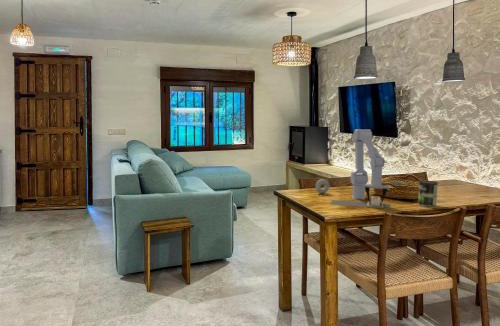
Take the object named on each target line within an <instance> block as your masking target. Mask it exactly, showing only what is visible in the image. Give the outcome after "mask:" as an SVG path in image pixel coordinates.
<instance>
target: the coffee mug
mask: <svg viewBox="0 0 500 326" xmlns="http://www.w3.org/2000/svg"><path fill="white" fill-rule="evenodd" d="M388 183H390V184H395V185H405V186H406V183H405V182H402V181H396V180H395V181H393V180H391V181H388Z"/></svg>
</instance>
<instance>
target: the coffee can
mask: <svg viewBox="0 0 500 326" xmlns="http://www.w3.org/2000/svg"><path fill="white" fill-rule="evenodd" d="M418 184H419V185H418V197H417V198H418V199H417V200H418V201H417V205H418V204H419V205H418V206H420V205H422V206H421V207H425V206H435V207H437V201H438V200H437V199H438V198H437V197H438V187H439V185H438V184H439V182H438V181H435V180H423V179H422V180H419V181H418Z"/></svg>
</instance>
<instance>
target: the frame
mask: <svg viewBox="0 0 500 326" xmlns="http://www.w3.org/2000/svg"><path fill="white" fill-rule="evenodd" d="M366 202H367V207H366V208H374V207H375V209H376V208H377V209H384V208H383V204H384V201H383V202H382V201H380V204H382V206H376V205H369V203H371V200H369V201H366Z"/></svg>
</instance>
